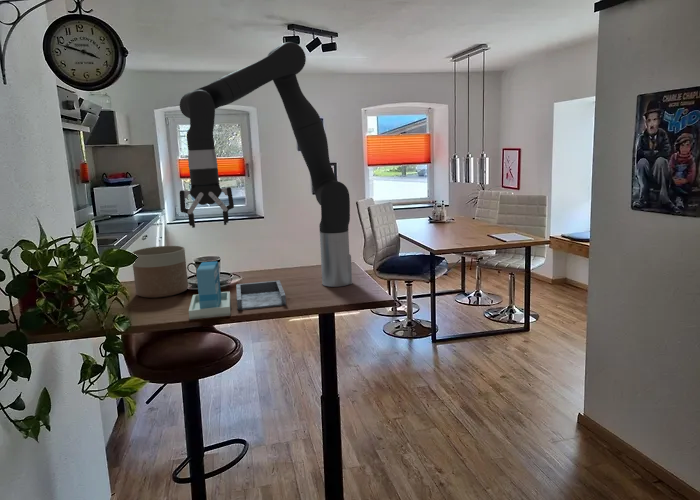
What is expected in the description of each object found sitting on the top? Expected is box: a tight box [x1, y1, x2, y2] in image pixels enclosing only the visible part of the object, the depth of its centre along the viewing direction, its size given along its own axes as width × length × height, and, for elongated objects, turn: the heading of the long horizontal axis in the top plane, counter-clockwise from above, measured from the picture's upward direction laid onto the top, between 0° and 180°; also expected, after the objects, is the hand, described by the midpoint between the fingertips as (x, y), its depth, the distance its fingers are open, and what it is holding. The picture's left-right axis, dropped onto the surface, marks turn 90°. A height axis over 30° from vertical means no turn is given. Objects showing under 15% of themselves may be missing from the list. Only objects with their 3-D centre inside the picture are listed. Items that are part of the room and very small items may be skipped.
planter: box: [131, 245, 189, 299], centre depth 167 cm, size 16×16×14 cm
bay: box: [235, 279, 287, 311], centre depth 155 cm, size 13×18×3 cm
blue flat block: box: [196, 260, 222, 309], centre depth 147 cm, size 12×4×12 cm, turn 8°
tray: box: [188, 290, 231, 320], centre depth 148 cm, size 11×17×2 cm, turn 13°
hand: (209, 226), depth 146 cm, fingers open, 8 cm apart
